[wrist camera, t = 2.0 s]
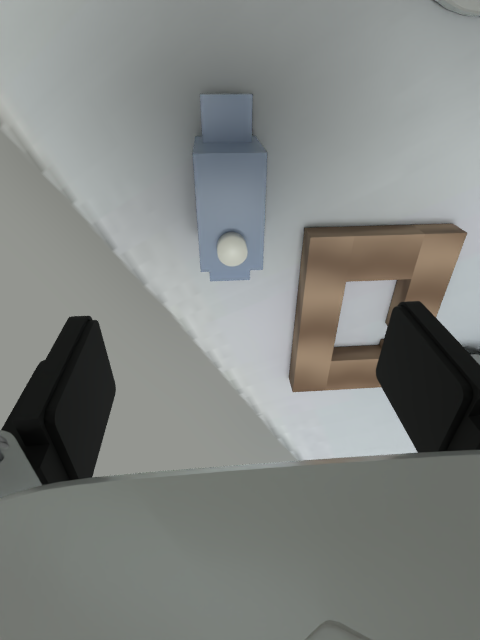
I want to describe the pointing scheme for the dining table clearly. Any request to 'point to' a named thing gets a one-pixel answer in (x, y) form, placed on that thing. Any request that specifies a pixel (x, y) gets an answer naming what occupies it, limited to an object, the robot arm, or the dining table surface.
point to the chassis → (362, 265)
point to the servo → (229, 188)
